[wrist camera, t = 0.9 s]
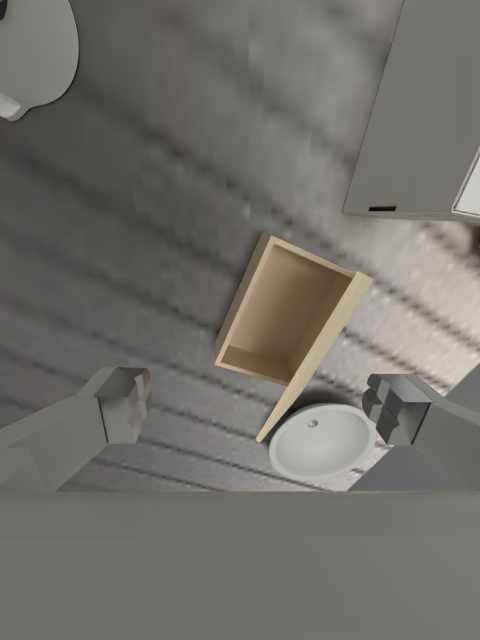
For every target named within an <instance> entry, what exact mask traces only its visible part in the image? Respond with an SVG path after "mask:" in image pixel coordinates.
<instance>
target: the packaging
mask: <svg viewBox="0 0 480 640" xmlns="http://www.w3.org/2000/svg"><path fill="white" fill-rule="evenodd" d="M342 213H347V214H353V215H359V216H364V217H370V218H380V219H409V220H437V221H466V222H480V0H404V4H403V7H402V11H401V14H400V17H399V21H398V24H397V28H396V31H395V34H394V38H393V41H392V45H391V48H390V51H389V55H388V58H387V61H386V65H385V68H384V72H383V75H382V78H381V82H380V85H379V89H378V92H377V95H376V99H375V102H374V106H373V109H372V112H371V116H370V119H369V123H368V126H367V129H366V133H365V136H364V140H363V143H362V146H361V150H360V153H359V156H358V160H357V163H356V167H355V170H354V173H353V177H352V180H351V184H350V187H349V190H348V194H347V197H346V201H345V204H344V207H343V211H342Z"/></svg>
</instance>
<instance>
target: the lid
mask: <svg viewBox="0 0 480 640" xmlns="http://www.w3.org/2000/svg"><path fill="white" fill-rule="evenodd" d="M372 282H373V279H371V278H370V277H368V276H367V275H365V274H363V273H361V272H359V271H357V273H356V275H355V276H354V278H353V280H352V281H351V283H350V285H349V286H348V288H347V290H346V291H345V293H344V294H343V296H342V298H341V299H340V301H339V303H338V304H337V306H336V308H335V309H334V311H333V313H332V314H331V316H330V318H329V319H328V321H327V323H326V324H325V326H324V327H323V329H322V331H321V332H320V334H319V336H318V337H317V339H316V341H315V342H314V344H313V346H312V347H311V349H310V351H309V352H308V354H307V355H306V357H305V359H304V360H303V362H302V364H301V365H300V367H299V369H298V370H297V372H296V374H295V375H294V377H293V379H292V380H291V382H290V384H289V385H288V387H287V388H286V390H285V392H284V393H283V395H282V397H281V398H280V400H279V402H278V403H277V405H276V407H275V408H274V410H273V412H272V413H271V415H270V416H269V418H268V420H267V421H266V423H265V425H264V426H263V428H262V430H261V431H260V433H259V435H258V436H257V438H256V440H257V441H258V442H259V443H260V442H261V441H262V439H263V438H264V437H265V436H266V435H267V433H268V432H269V431H270V430H271V429H272V427H273V426H274V425H275V424H276V423H277V421H278V420H279V419H280V418H281V417H282V416H283V414H284V413H285V412H286V411H287V410H288V408H289V407H290V406H291V405H292V404H293V402H294V401H295V400H296V399H297V398H298V396H299V395H300V394H301V393H302V391H303V389H304V388H305V386H306V385H307V383H308V382H309V380H310V378H311V377H312V375H313V374H314V372H315V371H316V369H317V368H318V366H319V364H320V363H321V361H322V360H323V358H324V357H325V355H326V354H327V352H328V350H329V349H330V347H331V346H332V344H333V343H334V341H335V340H336V338H337V336H338V335H339V333H340V332H341V330H342V329H343V327H344V325H345V324H346V322H347V321H348V319H349V318H350V316H351V315H352V313H353V311H354V310H355V308H356V307H357V305H358V304H359V302H360V301H361V299H362V297H363V296H364V294H365V293H366V291H367V290H368V288H369V287H370V285H371V283H372Z"/></svg>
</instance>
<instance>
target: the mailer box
mask: <svg viewBox="0 0 480 640" xmlns="http://www.w3.org/2000/svg"><path fill="white" fill-rule="evenodd" d="M355 275H356V273H353V272H351V271H349V270H347V269H345V268H342V267H340V266H338V265H336V264H334V263H331V262H329V261H327V260H325V259H323V258H320V257H318V256H316V255H314V254H312V253H309V252H307V251H305V250H303V249H301V248H298V247H296V246H294V245H292V244H290V243H287V242H285V241H283V240H281V239H278V238H276V237H274V236H272V235H270V234H267V233H265V232H263V231H262V233H261V235H260V238H259V240H258V242H257V245H256V247H255V249H254V252H253V254H252V256H251V259H250V261H249V263H248V266H247V268H246V270H245V273H244V275H243V278H242V280H241V282H240V285H239V287H238V289H237V292H236V294H235V296H234V299H233V301H232V303H231V306H230V308H229V310H228V313H227V315H226V317H225V320H224V322H223V325H222V327H221V329H220V332H219V334H218V336H217V339H216V341H215V357H214V365H217V366H220V367H224V368H227V369H230V370H234V371H237V372H240V373H244V374H247V375H251V376H254V377H257V378H261V379H264V380H268V381H271V382H274V383H278V384H281V385H285V386H288V385H289V384H290V382H291V380H292V379H293V377H294V375H295V374H296V372H297V370H298V369H299V367H300V365H301V364H302V362H303V360H304V359H305V357H306V355H307V354H308V352H309V351H310V349H311V347H312V346H313V344H314V342H315V341H316V339H317V337H318V336H319V334H320V332H321V331H322V329H323V327H324V326H325V324H326V323H327V321H328V319H329V318H330V316H331V314H332V313H333V311H334V309H335V308H336V306H337V304H338V303H339V301H340V299H341V298H342V296H343V294H344V293H345V291H346V290H347V288H348V286H349V285H350V283H351V281H352V280H353V278H354V276H355Z"/></svg>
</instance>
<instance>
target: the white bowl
mask: <svg viewBox="0 0 480 640" xmlns="http://www.w3.org/2000/svg"><path fill="white" fill-rule="evenodd" d="M312 420H316V421H317V425H316V426H313V427H310V426H308V423H309V422H310V421H312ZM376 437H377V430H376V426H375V423H374V422H373V421H371V420H370V419H368V417H367V416H366V414H365V412H364V411H363V410H361V409H359V408H357V407H354V406H351V405H346V404H332V403H318V404H313V405H309V406H306V407H304V408H301V409H299V410H298V411H296V412H295V413H293V414H292V415H291V416H290V417H288V418H287V419H286V421H285V422H284V423H283V424H282V425H281V426H280V427H279V428H278V429H277V431H276V432H275V434H274V435H273V437H272V439H271V442H270V445H269V458H270V461H271V463H272V465H273V467H274V468H275V469H276V470H277V471H278V472H279V473H281V474H282V475H284V476H286V477H288V478H291V479H294V480H298V481H321V480H327V479H331V478H334V477H337V476H339V475H342V474H344V473H346V472H348V471H350V470H352V469H353V468H355V467H356V466H357V465H359V464H360V463H361V462H362V461H363V460H364V459H365V458H366V457H367V456H368V455H369V454H370V452H371V451H372V449H373V447H374V445H375V442H376Z"/></svg>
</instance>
